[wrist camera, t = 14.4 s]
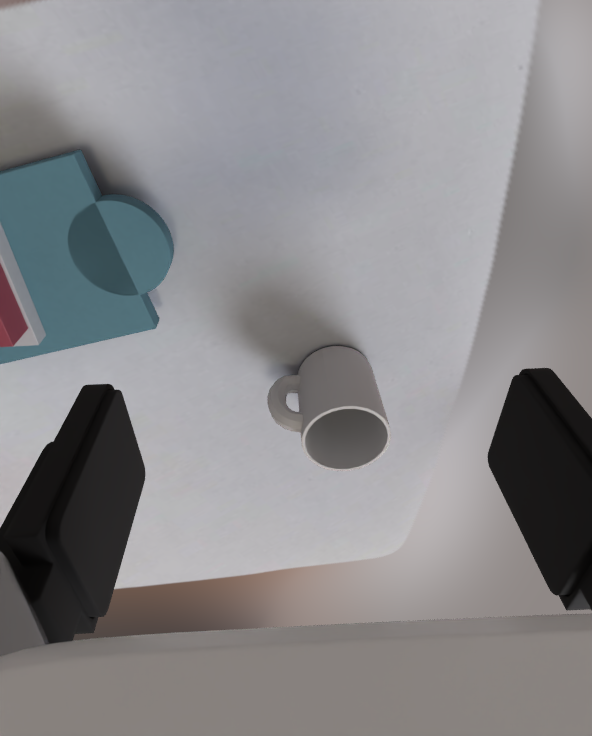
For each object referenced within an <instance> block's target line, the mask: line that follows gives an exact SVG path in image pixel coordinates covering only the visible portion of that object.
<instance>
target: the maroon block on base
mask: <svg viewBox="0 0 592 736" xmlns="http://www.w3.org/2000/svg"><path fill="white" fill-rule="evenodd" d="M45 336H46V333H45V331H44V328H43V326H42V323H41V321H40V318H39V316H38V314H37V311H36V309H35V306H34V304H33V301H32V299H31V296H30V294H29V291H28V289H27V287H26V284H25V282H24V279H23V277H22V274H21V272H20V269H19V267H18V264H17V262H16V259H15V257H14V255H13V252H12V250H11V247H10V245H9V242H8V240H7V237H6V235H5V232H4V230H3V228H2V225H1V223H0V347H13V346H31V345H39V344H40V343H41V341H42V340H43V339H44V337H45Z"/></svg>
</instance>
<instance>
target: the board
mask: <svg viewBox="0 0 592 736" xmlns="http://www.w3.org/2000/svg"><path fill="white" fill-rule="evenodd" d="M0 223H1V225H2V228H3V230H4V232H5V235H6V237H7V240H8V242H9V245H10V247H11V250H12V252H13V255H14V257H15V259H16V262H17V264H18V267H19V269H20V272H21V274H22V277H23V279H24V282H25V284H26V287H27V289H28V291H29V294H30V296H31V299H32V301H33V304H34V306H35V309H36V311H37V314H38V316H39V318H40V321H41V323H42V326H43V328H44V331H45V333H46V336H45V337H44V339H43V340H42V341H41V343H40V344H39V345H31V346H13V347H0V364H3V363H7V362H12V361H16V360H20V359H25V358H29V357H34V356H38V355H42V354H47V353H51V352H55V351H60V350H64V349H68V348H73V347H77V346H81V345H86V344H90V343H94V342H99V341H103V340H108V339H112V338H116V337H121V336H125V335H129V334H134V333H138V332H142V331H147V330H151V329H155V328H156V327H157V324H158V322H159V317H158V315H157V313H156V311H155V308H154V306H153V304H152V302H151V300H150V298H149V296H148V293H147V292H149V291H151V290H153V289H154V288H156V287H157V286H158V285H159V284H160V283H161V282H162V281H163V279H164V278H165V276H166V274H167V272H168V270H169V268H170V265H171V263H172V259H173V252H174V249H173V241H172V237H171V234H170V231H169V229H168V227H167V225H166V224H165V222H164V220H163V219H162V218H161V217H160V215H159V214H158V213H157V212H156V211H155V210H153V209H152V208H151V207H150V206H148V205H147V204H145V203H144V202H142V201H140V200H138V199H136V198H133V197H130V196H125V195H119V194H109V195H103V196H102V194H101V192H100V190H99V188H98V186H97V184H96V181H95V179H94V177H93V175H92V173H91V171H90V168H89V166H88V164H87V162H86V160H85V158H84V155H83V153H82V151H81V150H76V151H73V152H69V153H65V154H62V155H58V156H54V157H51V158H47V159H44V160H40V161H36V162H33V163H29V164H25V165H22V166H18V167H14V168H11V169H7V170H3V171H0Z"/></svg>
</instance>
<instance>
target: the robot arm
mask: <svg viewBox="0 0 592 736" xmlns="http://www.w3.org/2000/svg"><path fill="white" fill-rule="evenodd" d="M488 463H489V467H490V469H491V471H492V473H493V475H494V477H495V479H496V481H497V483H498V485H499V487H500V489H501V492H502V493H503V496H504V498H505V500H506V502H507V504H508V506H509V508H510V510H511V512H512V514H513V516H514V518H515V520H516V522H517V524H518V526H519V528H520V530H521V532H522V534H523V536H524V538H525V540H526V542H527V544H528V547H529V549H530V551H531V553H532V555H533V557H534V559H535V561H536V563H537V565H538V567H539V569H540V571H541V573H542V575H543V577H544V579H545V581H546V583H547V585H548V587H549V589H550V591H551V592H552V593H553V594H555V595H559V597H560V599H561V601H562V603H563V605H564V606H565V608H566V610H584V609H591V610H592V418H591V417H590V416H589V415H588V413H587V412H586V411H585V410H584V409H583V407H582V406H581V405H580V404H579V402H578V401H577V400H576V399H575V397H574V396H573V395H572V394H571V392H570V391H569V390H568V389H567V388H566V386H565V385H564V384H563V383H562V382H561V380H560V379H559V378H558V377H557V375H556V374H555V373H554V372H553V371H552V370H551V369H549V368H538V369H536V368H535V369H524V370H522V371H521V372H520V374H519V375H516V376H514V377H513V379H512V382H511V385H510V388H509V391H508V394H507V397H506V400H505V403H504V406H503V409H502V412H501V415H500V418H499V421H498V424H497V427H496V431H495V433H494V437H493V440H492V443H491V446H490V449H489V452H488ZM144 481H145V467H144V463H143V460H142V457H141V453H140V450H139V447H138V444H137V440H136V437H135V434H134V431H133V427H132V424H131V421H130V418H129V414H128V411H127V408H126V405H125V401H124V398H123V395H122V393H121V391H120V390H114V388H113V386H112V385H110V384H98V385H85V386H83V388H82V389H81V391H80V393H79V395H78V397H77V399H76V401H75V402H74V404H73V406H72V408H71V410H70V412H69V414H68V416H67V417H66V419H65V421H64V423H63V425H62V427H61V429H60V431H59V433H58V434H57V436H56V438H55V440H54V442H50V443H49V444H47V445H46V447H45V448H44V449H43V451H42V453H41V455H40V456H39V458H38V460H37V462H36V464H35V466H34V467H33V469H32V471H31V473H30V475H29V477H28V478H27V480H26V482H25V484H24V486H23V488H22V489H21V491H20V493H19V495H18V497H17V499H16V500H15V502H14V504H13V506H12V508H11V510H10V511H9V513H8V515H7V517H6V519H5V521H4V522H3V524H2V526H1V528H0V736H592V614H563V615H534V616H512V617H511V616H510V617H488V618H463V619H442V620H441V619H440V620H418V621H397V622H376V623H355V624H335V625H316V626H315V625H314V626H294V627H274V628H255V629H237V630H219V631H200V632H180V633H165V634H150V635H136V636H121V637H107V638H94V639H85V640H77V641H73V637H74V634H82V633H94V630H95V627H96V623H97V620H98V617H103V616H104V615H105V614H106V612H107V610H108V608H109V604H110V600H111V597H112V594H113V590H114V587H115V583H116V580H117V576H118V573H119V569H120V566H121V562H122V559H123V555H124V552H125V548H126V544H127V541H128V537H129V534H130V530H131V527H132V523H133V520H134V516H135V513H136V509H137V506H138V502H139V499H140V495H141V492H142V488H143V485H144Z"/></svg>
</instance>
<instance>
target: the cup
mask: <svg viewBox="0 0 592 736" xmlns="http://www.w3.org/2000/svg"><path fill="white" fill-rule="evenodd" d="M288 393H298V399H299V412H295V411H292V410H291V409H289V408H288V406H287V405H286V396H287V394H288ZM268 407H269V410H270V413H271V415H272V417H273V419H274V420H275V421H276V423H277V424H279V425H280V426H281V427H283V428H284V429H287V430H290V431H294V432H301V440H302V448H303V450H304V453H305V455H306V456H307V457H308V458H309V460H310V461H312V462H313V463H315V464H316V465H317V466H320V467H322V468H325V469H328V470H334V471H350V470H355V469H360V468H362V467H365V466H367V465H370V464H371V463H373V462H374V461H376V460H377V459H379V458H380V457H381V456H382V455H383V453H384V452H385V451H386V449H387V448H388V446H389V444H390V438H391V432H390V427H389V423H388V420H387V417H386V413H385V410H384V407H383V404H382V400H381V397H380V394H379V390H378V387H377V384H376V380H375V377H374V374H373V370H372V368H371V366H370V364H369V362H368V360H367V359H366V357H364V356H363V355H362V354H361V353H360V352H358V351H356V350H354V349H352V348H348V347H344V346H330V347H326V348H322V349H320V350H318V351H316V352H314V353H312V354H311V355H310V356H309V357H308V358H306V359H305V361H304V362H303V363H302V365H301V366H300V369H299V372H298V375H289V376H284V377H282V378H280V379H278V380H277V381H276V382H275V383H274V384H273V386H272V387H271V388H270V390H269V393H268Z"/></svg>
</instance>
